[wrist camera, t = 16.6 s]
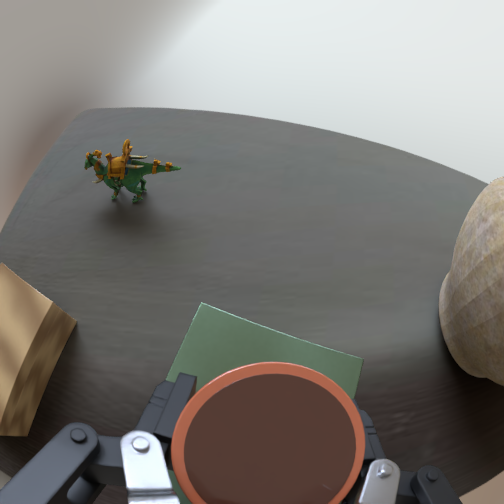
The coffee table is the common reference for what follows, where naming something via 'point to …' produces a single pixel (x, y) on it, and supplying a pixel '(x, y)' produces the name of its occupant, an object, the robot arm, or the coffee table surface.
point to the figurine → (125, 170)
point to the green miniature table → (251, 355)
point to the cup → (268, 438)
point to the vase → (477, 289)
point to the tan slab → (26, 349)
